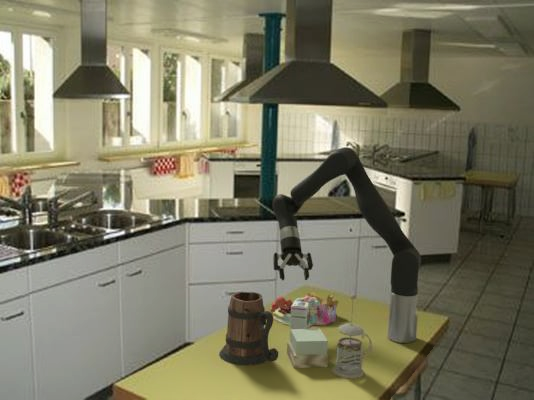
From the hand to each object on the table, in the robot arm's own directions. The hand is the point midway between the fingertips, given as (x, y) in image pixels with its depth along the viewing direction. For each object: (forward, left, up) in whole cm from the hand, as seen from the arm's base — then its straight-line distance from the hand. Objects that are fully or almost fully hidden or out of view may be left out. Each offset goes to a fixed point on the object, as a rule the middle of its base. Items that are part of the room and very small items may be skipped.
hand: (294, 279), depth 208 cm
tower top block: (0, +24, -16) cm, 29 cm away
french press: (-12, +33, -20) cm, 40 cm away
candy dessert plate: (-8, -14, -20) cm, 26 cm away
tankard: (+18, +21, -20) cm, 34 cm away
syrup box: (0, +11, -20) cm, 23 cm away
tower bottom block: (0, +24, -20) cm, 31 cm away
